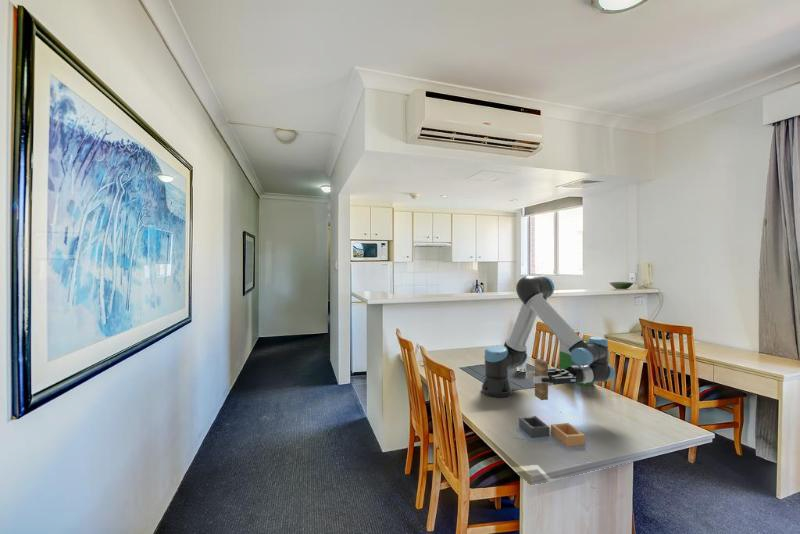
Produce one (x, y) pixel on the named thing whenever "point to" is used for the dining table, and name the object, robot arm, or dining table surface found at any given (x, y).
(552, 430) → the orange open box
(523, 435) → the board
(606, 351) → the robot arm
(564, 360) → the hardback book
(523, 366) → the beer glass
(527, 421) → the grey open box
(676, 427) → the dining table surface
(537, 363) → the oak slat
